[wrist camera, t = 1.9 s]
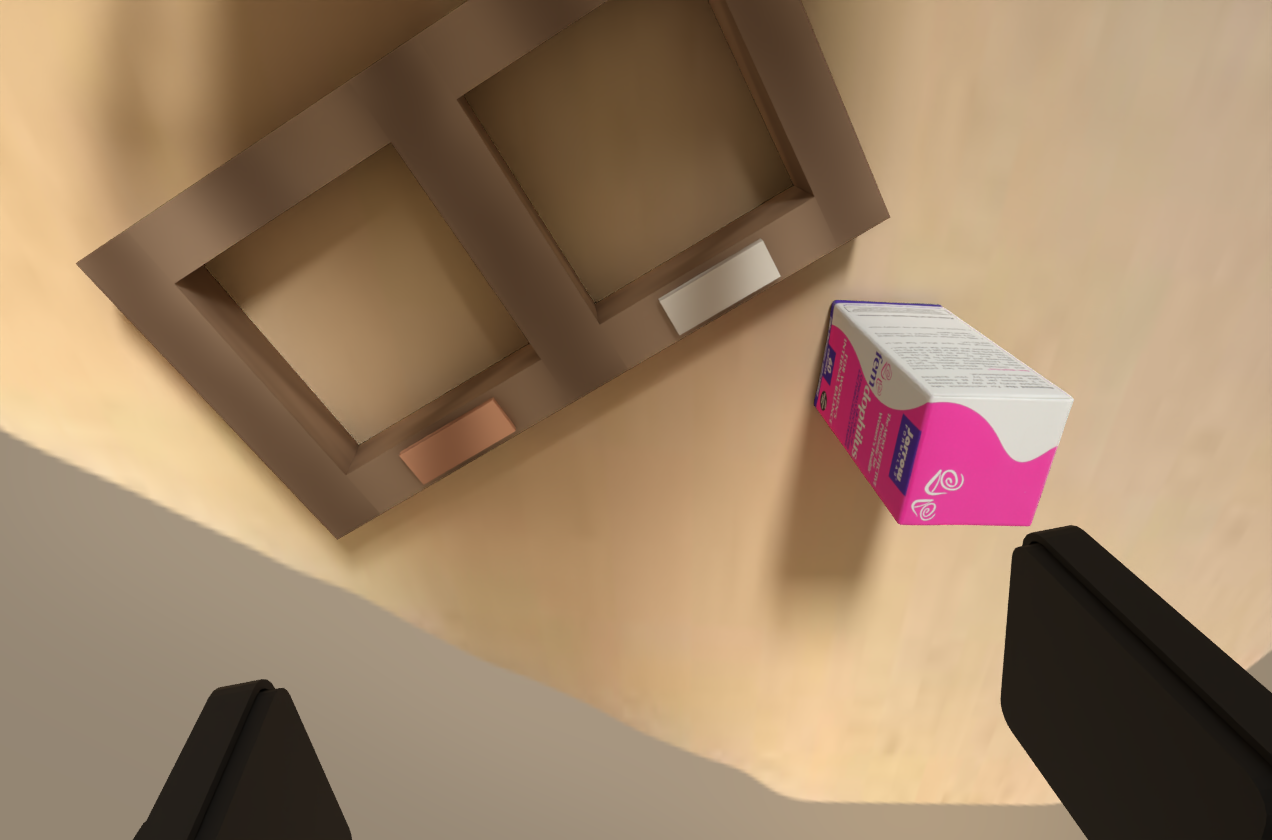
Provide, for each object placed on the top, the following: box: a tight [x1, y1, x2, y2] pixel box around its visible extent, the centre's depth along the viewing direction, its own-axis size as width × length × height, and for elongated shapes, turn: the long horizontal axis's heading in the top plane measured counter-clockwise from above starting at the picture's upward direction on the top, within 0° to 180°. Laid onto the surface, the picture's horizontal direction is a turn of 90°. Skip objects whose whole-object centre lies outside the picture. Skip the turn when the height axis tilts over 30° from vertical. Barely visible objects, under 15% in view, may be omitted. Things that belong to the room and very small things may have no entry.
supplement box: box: [814, 300, 1074, 526], centre depth 35 cm, size 6×6×12 cm
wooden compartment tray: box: [76, 0, 890, 539], centre depth 33 cm, size 29×16×3 cm, turn 120°
